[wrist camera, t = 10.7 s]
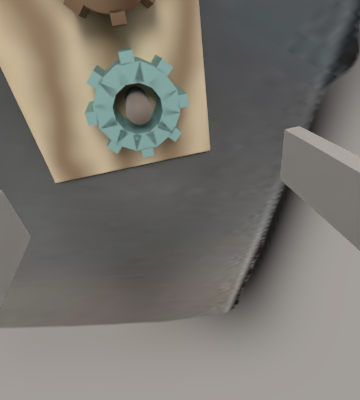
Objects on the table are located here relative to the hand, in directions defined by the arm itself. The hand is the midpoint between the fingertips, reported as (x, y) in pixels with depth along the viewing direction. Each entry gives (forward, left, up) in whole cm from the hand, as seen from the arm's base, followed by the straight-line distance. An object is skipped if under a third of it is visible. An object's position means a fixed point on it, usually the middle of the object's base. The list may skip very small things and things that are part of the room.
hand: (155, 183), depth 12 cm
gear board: (-2, +4, -21) cm, 22 cm away
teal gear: (0, 0, -20) cm, 20 cm away
